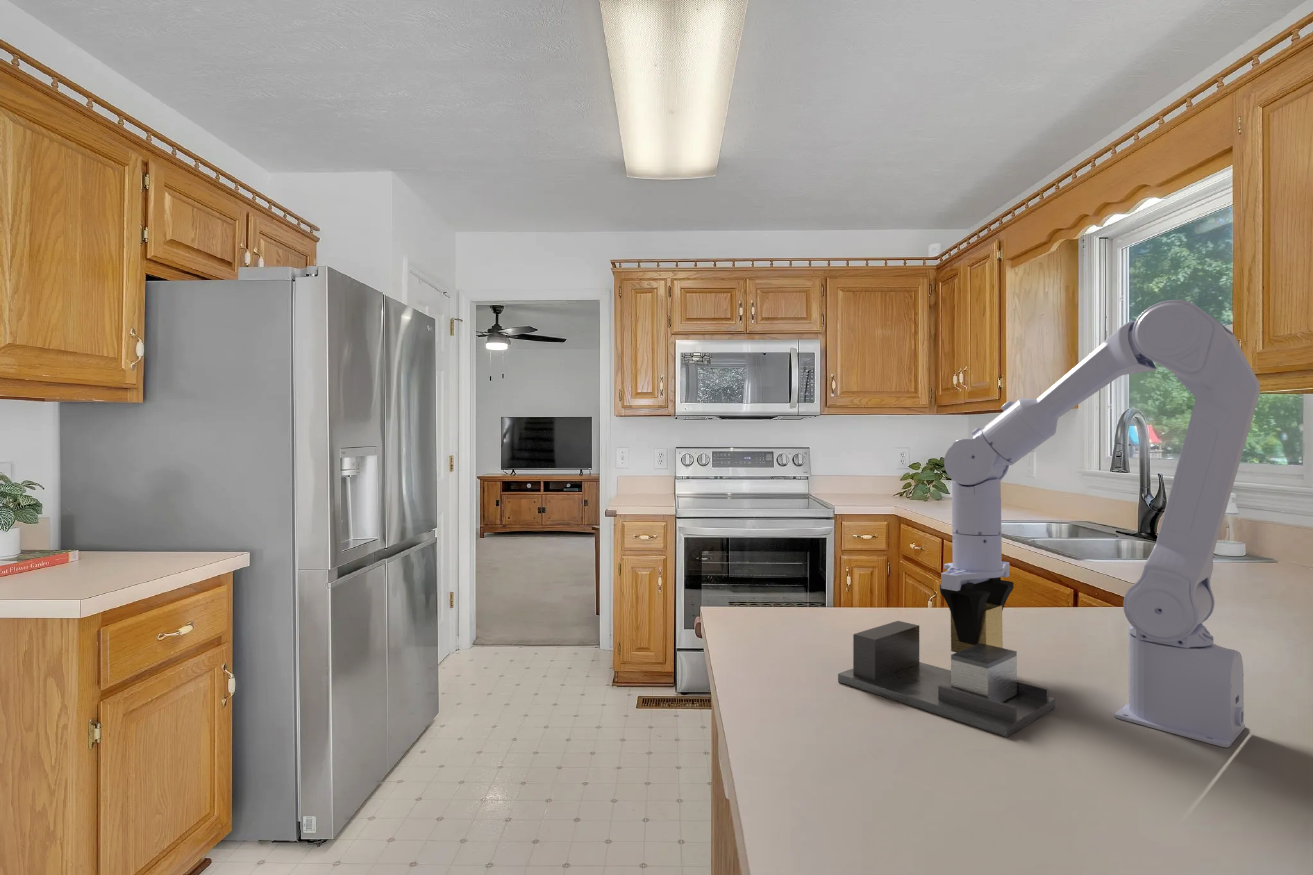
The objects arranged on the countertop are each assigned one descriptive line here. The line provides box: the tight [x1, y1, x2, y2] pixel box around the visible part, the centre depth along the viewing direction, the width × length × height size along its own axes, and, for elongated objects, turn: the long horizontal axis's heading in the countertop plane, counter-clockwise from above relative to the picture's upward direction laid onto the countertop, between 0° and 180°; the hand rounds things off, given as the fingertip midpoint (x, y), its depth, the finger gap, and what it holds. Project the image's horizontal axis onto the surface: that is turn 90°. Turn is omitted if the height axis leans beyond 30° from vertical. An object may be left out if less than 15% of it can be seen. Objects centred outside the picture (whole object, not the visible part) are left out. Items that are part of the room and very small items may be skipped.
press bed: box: [837, 620, 1056, 738], centre depth 78 cm, size 20×12×6 cm, turn 39°
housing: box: [950, 603, 1004, 653], centre depth 86 cm, size 4×4×6 cm
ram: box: [950, 643, 1018, 702], centre depth 74 cm, size 4×7×5 cm, turn 129°
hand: (977, 639), depth 86 cm, fingers closed on housing, 4 cm apart
